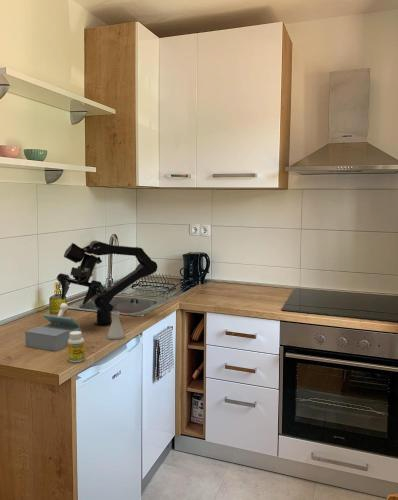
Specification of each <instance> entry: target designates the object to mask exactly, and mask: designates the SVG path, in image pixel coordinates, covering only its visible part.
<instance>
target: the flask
mask: <svg viewBox="0 0 398 500" xmlns="http://www.w3.org/2000/svg"><path fill="white" fill-rule="evenodd" d="M111 319H112V323H111V324H110V325H109V330H108V333H107V336H106V338H107V340H114V341H115V340H122V339H124V338H126V334H125V332H124V330H123V329H124V328H123V326H122V324H121V320H120V311H111Z"/></svg>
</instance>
